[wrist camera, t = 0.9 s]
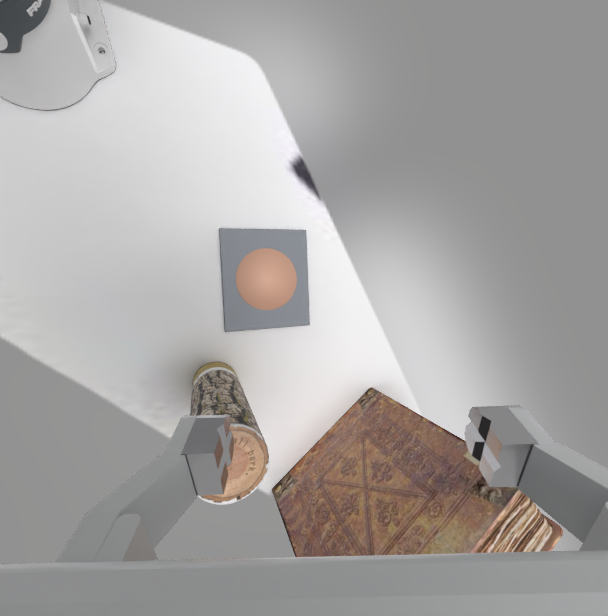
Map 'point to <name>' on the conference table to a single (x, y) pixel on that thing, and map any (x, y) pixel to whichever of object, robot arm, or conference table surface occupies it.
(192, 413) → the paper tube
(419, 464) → the book
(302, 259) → the card
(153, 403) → the conference table surface
